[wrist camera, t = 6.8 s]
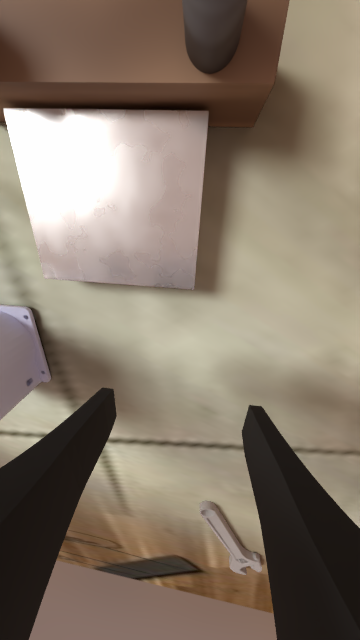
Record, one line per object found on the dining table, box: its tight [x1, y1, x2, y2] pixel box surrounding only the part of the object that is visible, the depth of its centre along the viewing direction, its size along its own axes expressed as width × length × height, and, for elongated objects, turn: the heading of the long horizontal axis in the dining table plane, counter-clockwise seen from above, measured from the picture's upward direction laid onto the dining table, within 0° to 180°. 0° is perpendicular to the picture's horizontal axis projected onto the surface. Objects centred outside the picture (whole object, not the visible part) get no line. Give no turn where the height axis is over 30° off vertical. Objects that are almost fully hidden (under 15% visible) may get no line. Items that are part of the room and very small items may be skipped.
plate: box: [3, 108, 209, 290], centre depth 14 cm, size 10×12×3 cm
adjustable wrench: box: [200, 501, 262, 575], centre depth 35 cm, size 25×6×2 cm, turn 20°
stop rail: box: [0, 0, 289, 127], centre depth 9 cm, size 3×18×7 cm, turn 87°
